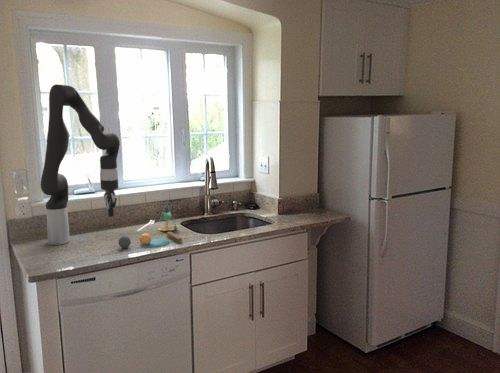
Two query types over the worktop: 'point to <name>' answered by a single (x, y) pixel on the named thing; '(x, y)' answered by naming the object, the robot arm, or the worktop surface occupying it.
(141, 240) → the object ball
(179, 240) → the wall
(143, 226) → the fork
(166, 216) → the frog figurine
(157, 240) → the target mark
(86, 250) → the worktop surface
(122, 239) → the dark grey ball
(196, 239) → the worktop surface
